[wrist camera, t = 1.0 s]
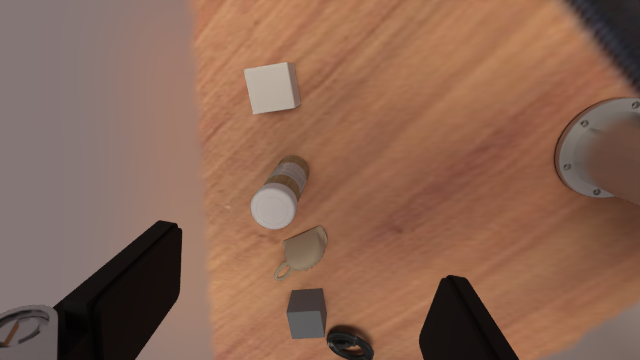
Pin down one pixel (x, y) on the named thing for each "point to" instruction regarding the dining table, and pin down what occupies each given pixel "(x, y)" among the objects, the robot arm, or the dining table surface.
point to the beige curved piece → (303, 251)
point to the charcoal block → (307, 314)
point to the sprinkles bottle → (280, 194)
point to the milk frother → (348, 345)
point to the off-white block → (272, 87)
